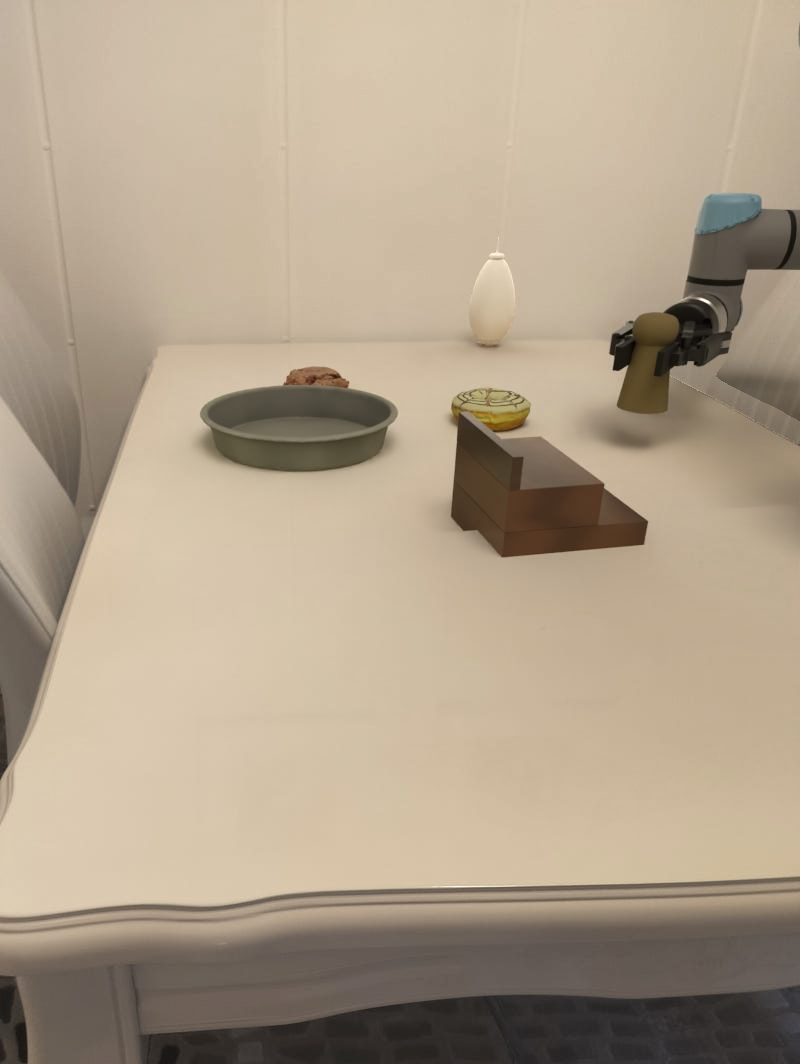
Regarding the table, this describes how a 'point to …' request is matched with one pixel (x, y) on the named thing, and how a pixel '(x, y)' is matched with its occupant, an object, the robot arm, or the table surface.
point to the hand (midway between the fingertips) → (638, 361)
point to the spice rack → (534, 497)
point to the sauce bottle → (492, 301)
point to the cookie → (316, 377)
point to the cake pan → (299, 426)
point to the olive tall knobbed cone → (648, 365)
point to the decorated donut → (492, 407)
